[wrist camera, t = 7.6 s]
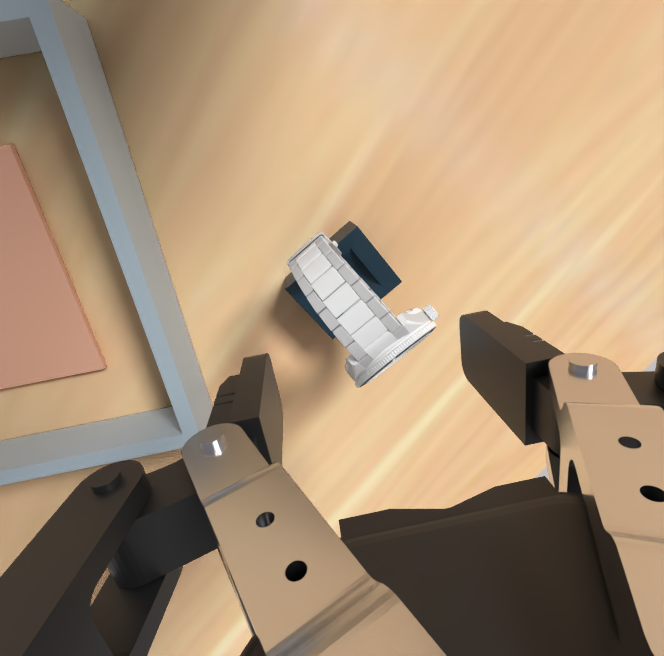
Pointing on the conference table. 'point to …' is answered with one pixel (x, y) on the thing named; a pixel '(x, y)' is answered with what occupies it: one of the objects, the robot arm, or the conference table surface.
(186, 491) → the robot arm
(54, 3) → the grey flat square frame
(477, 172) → the conference table surface
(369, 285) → the watch
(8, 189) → the resting pad
